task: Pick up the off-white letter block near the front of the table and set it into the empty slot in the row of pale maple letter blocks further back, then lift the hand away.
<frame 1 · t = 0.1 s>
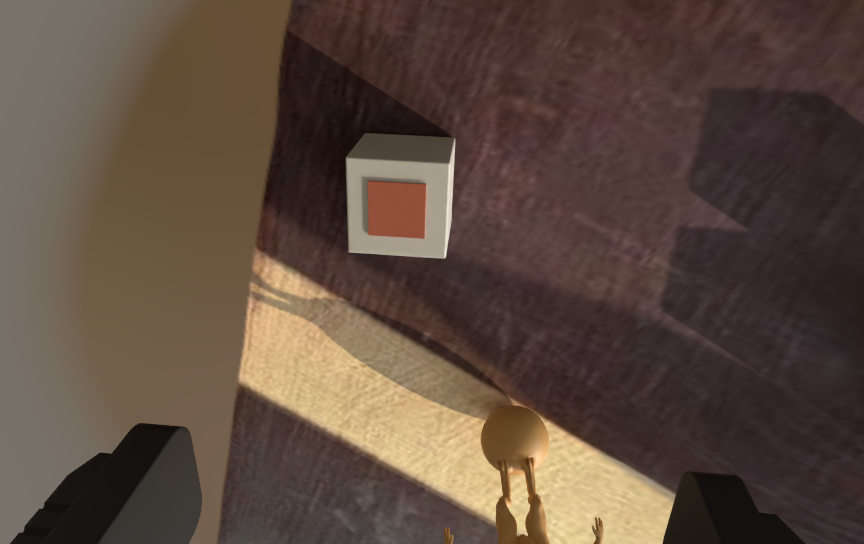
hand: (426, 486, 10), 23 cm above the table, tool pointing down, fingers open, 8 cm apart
figurine: (515, 428, 38), on the table
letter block: (409, 179, 32), on the table
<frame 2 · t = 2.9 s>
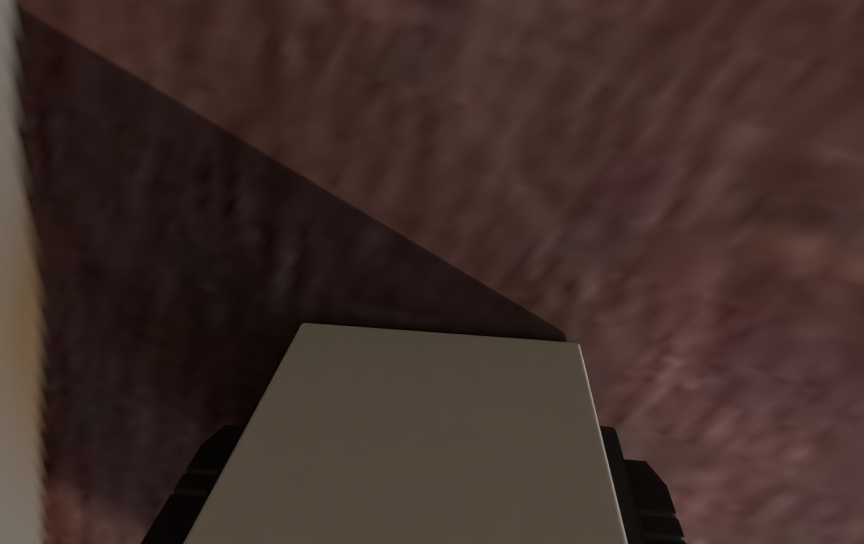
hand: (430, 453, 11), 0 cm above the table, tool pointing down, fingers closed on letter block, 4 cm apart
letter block: (434, 439, 11), on the table, touching gripper
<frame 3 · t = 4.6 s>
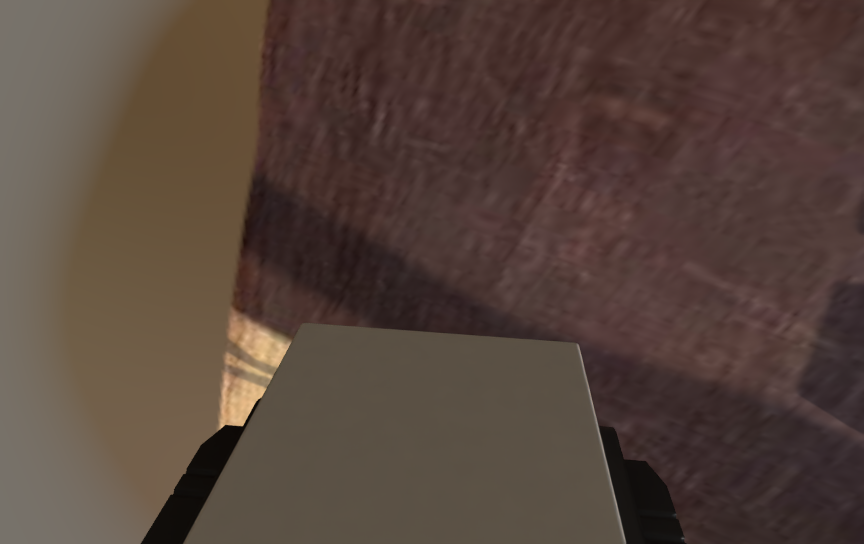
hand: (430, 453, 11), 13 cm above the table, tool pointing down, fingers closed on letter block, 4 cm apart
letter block: (433, 438, 11), point 12 cm above the table, touching gripper
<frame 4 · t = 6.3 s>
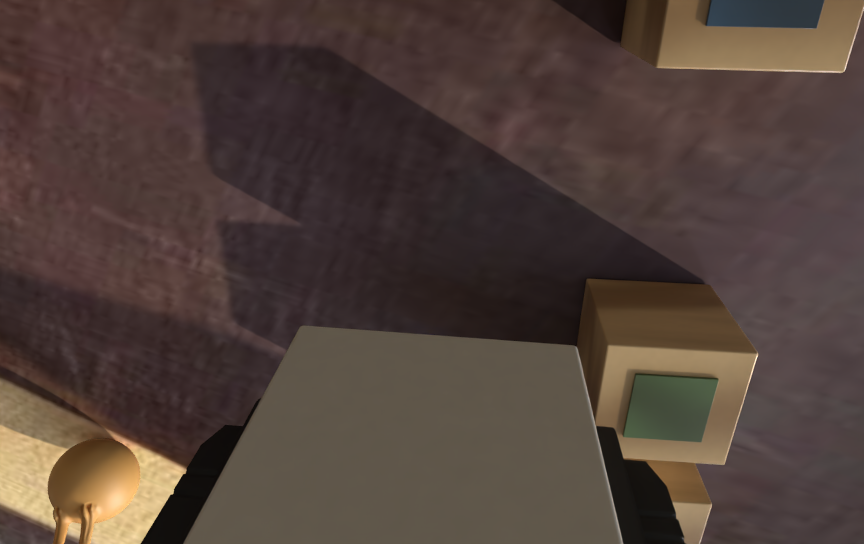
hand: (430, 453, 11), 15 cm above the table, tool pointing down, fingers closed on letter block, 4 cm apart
block row: (668, 175, 23), on the table
figurine: (127, 463, 32), on the table
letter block: (432, 441, 11), point 14 cm above the table, touching gripper
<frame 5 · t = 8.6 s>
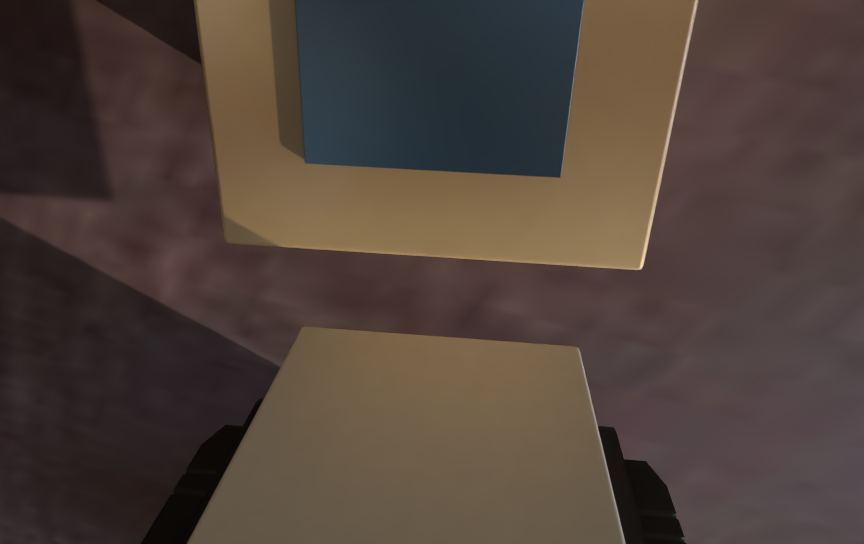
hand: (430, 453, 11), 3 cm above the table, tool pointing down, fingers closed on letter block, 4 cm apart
block row: (442, 346, 14), on the table
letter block: (433, 442, 11), point 3 cm above the table, touching gripper
when the fingers open (0 cm above the table, at t = 9.9 s): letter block stays where it is, on the table.
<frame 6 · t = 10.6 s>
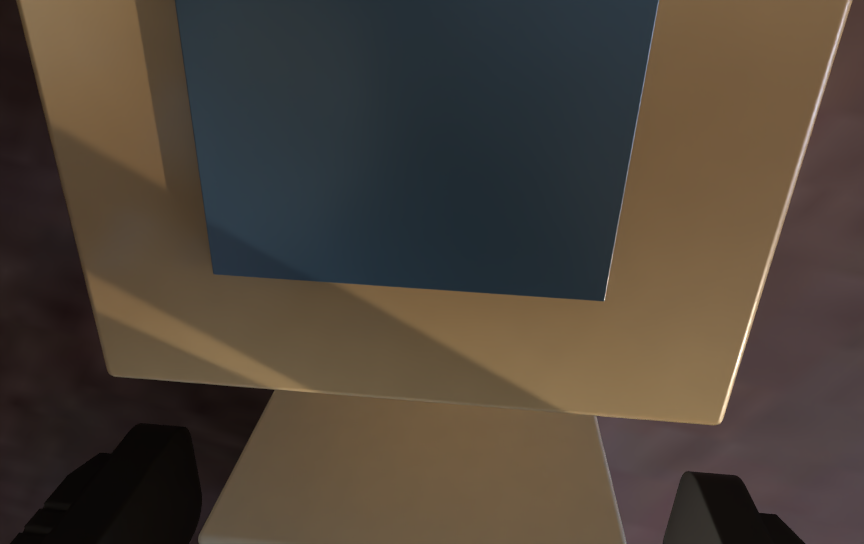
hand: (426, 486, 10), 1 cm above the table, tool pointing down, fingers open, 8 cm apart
block row: (435, 427, 11), on the table
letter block: (437, 432, 11), on the table
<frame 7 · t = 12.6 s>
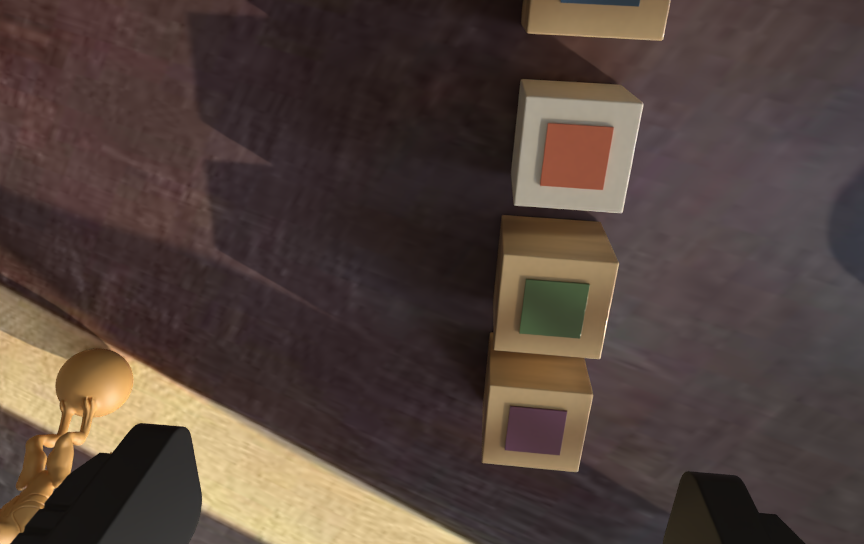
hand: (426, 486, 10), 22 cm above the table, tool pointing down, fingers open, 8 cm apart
block row: (563, 129, 29), on the table
figurine: (122, 375, 38), on the table
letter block: (563, 131, 29), on the table
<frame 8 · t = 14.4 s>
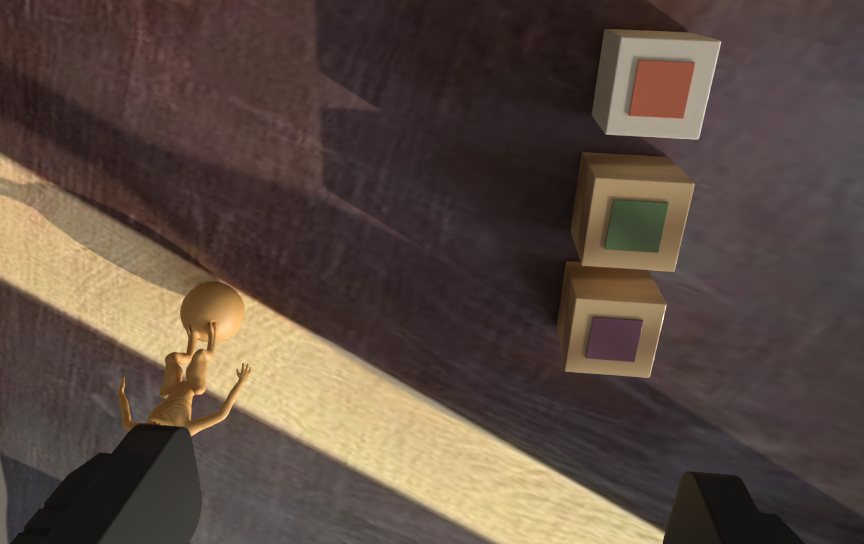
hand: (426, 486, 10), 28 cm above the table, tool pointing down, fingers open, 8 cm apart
block row: (639, 73, 33), on the table
figurine: (230, 309, 42), on the table
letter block: (639, 75, 33), on the table
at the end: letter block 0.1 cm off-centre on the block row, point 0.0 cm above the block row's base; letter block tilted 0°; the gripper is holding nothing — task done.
